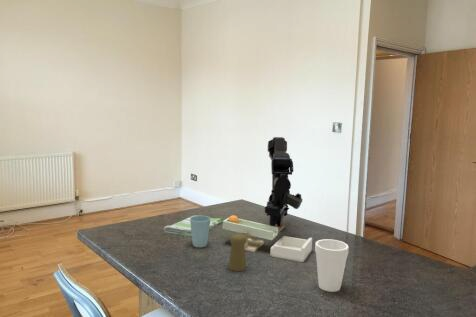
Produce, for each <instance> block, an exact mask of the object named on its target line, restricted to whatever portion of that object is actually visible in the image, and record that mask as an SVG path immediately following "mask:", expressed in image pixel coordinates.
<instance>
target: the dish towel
mask: <svg viewBox="0 0 476 317" xmlns="http://www.w3.org/2000/svg"><path fill="white" fill-rule="evenodd" d="M193 216H200V215H197V214H196V215H194V214H193V215H192V216H190V217H187V218H185V219H182V220H181V221H178V222H175V223H173V224H170V225H166V226H164V227H163V231H164V232H165V233H171V234H174V235H181V236H186V237H192V233H191V224H190V218H191V217H193ZM210 218H211V219H210V227H209V231H211V230H212V229H215V228H216V227H218V226H220V225H223V221H224V220H223V219H222V218H219V217H217V218H215V217H214V218H212V217H210ZM222 220H223V221H222Z"/></svg>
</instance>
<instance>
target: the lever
mask: <svg viewBox="0 0 476 317" xmlns="http://www.w3.org/2000/svg"><path fill="white" fill-rule="evenodd" d="M228 219H229V217H227V218H225V219H223V223H222V230H227V231H232V232H235V233H238V234H242V232H247V233H248V236H256V237H257V238H261V239H264V240H269V241H273V240H274V239H275V238H276V237H277V236H279V235H278V234H279V233H280V232H281V231H282V230H284V228H285V227H284V226H285V224H282V225H281V226H280V227H279V226H277V224H276V225H275V226H270V225H269V224H266V223H265V224H264V223H260V222H255V221H251V220H248V219H242V218H238V219H239V222H238V224H237V223H232V222H228Z"/></svg>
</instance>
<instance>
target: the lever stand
mask: <svg viewBox="0 0 476 317" xmlns="http://www.w3.org/2000/svg"><path fill="white" fill-rule="evenodd" d="M241 234H242V235H244V236H245V237H246V243H245V245H244V248H245V251H248V252H253V253H255V252H257V250H258V249H260V248H261V247H262V246H263V245H264V244H265V241H264V240H261V239H258V237H256V236H251V235H250V236H251V237H250V238H249V235H248V233H247V232H242V233H241Z"/></svg>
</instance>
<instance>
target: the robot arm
mask: <svg viewBox="0 0 476 317" xmlns="http://www.w3.org/2000/svg"><path fill="white" fill-rule="evenodd" d="M287 151H288V141H287V140H286V139H285V137H283V136H281V137H279V136H274V137H272V139H270V140H269V141H268V142H267V153H268V157H269V158H270V160H271V161H270V162H271V164H270V165H271V168H270V169H271V175H272V176H271V177H272V180H271V181H272V182H271V190H270V191H271V194H270V195H269V196H268V201H266V206H265V207H264V214H266V216H269V218H268V225H270V226H275V225H276V224H277V226H279V227H280V226H281V225H283V220H284V217H287V216H288V210H289V209H290V207H292V208H293V209H295V210H298V209H299V208H300V207H301V204H302V202H303V198H302V194H300V193H298V192H297V193H296V194H292V193H291V191H290V189H291V188H292V183H291V181H290V179H289V176H291V175H293V173H294V162H293V159H292V158H291V155H290V153H287ZM289 206H290V207H289ZM284 228H285V225H284Z"/></svg>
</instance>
